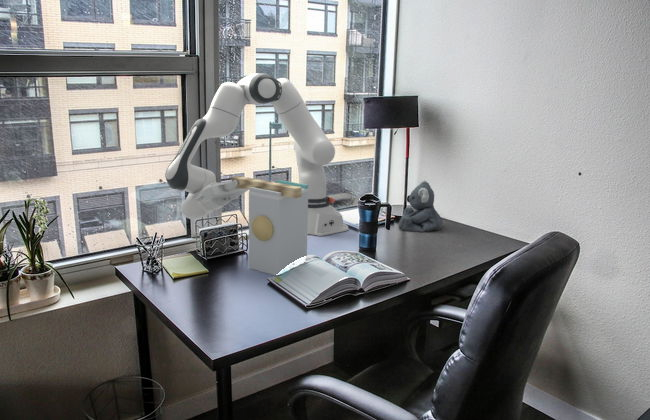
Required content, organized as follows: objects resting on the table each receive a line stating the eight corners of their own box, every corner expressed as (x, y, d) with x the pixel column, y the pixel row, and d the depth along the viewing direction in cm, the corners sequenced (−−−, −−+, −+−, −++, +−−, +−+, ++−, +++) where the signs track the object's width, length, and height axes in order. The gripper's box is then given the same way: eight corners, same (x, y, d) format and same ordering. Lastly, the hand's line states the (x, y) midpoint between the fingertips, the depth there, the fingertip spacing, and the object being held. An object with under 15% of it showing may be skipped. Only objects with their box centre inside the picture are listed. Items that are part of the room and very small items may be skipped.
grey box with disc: (247, 268, 177) (246, 188, 170) (278, 254, 191) (279, 179, 184) (276, 277, 171) (276, 193, 164) (306, 262, 185) (308, 184, 178)
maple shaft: (231, 186, 178) (231, 177, 177) (237, 184, 180) (237, 175, 179) (295, 198, 164) (296, 188, 164) (301, 196, 167) (301, 187, 166)
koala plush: (402, 220, 240) (405, 177, 235) (443, 224, 236) (447, 180, 231) (397, 231, 224) (400, 185, 219) (441, 235, 220) (445, 188, 215)
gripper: (189, 192, 176) (216, 176, 168) (232, 182, 193) (258, 167, 185) (197, 210, 176) (224, 195, 168) (238, 198, 193) (265, 184, 185)
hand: (242, 180), depth 177 cm, fingers closed on maple shaft, 3 cm apart
